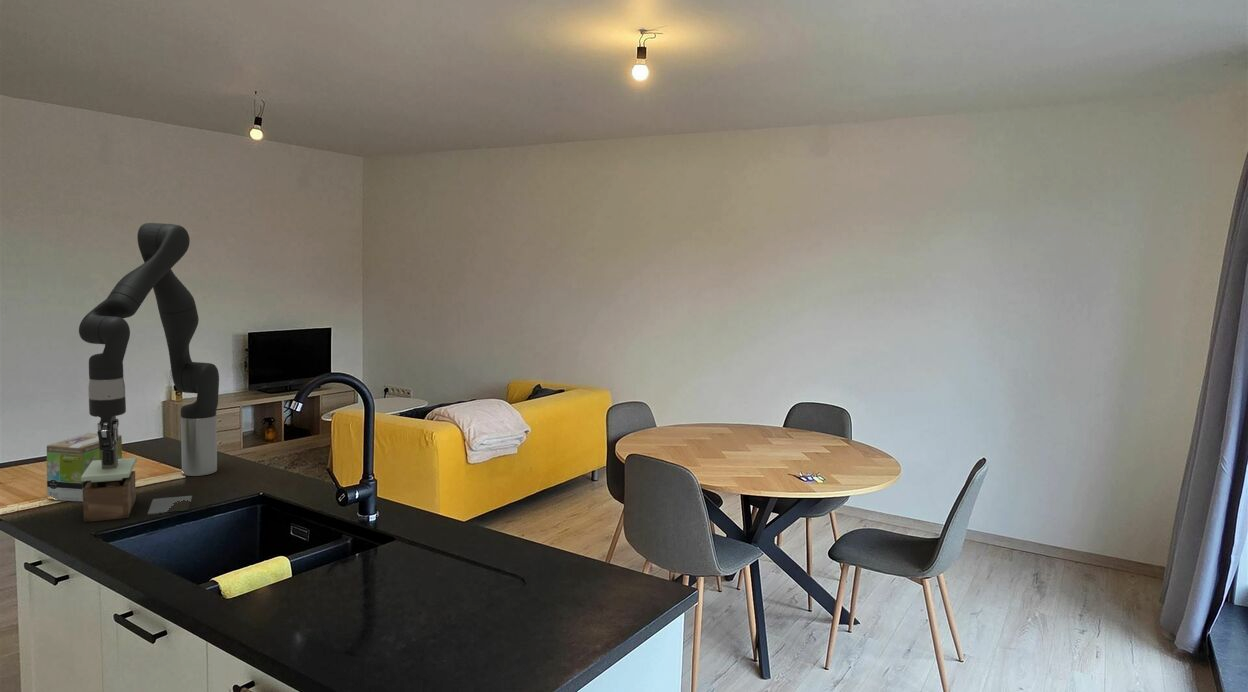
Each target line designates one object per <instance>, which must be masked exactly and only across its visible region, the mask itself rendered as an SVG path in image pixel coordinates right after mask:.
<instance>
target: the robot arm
mask: <svg viewBox="0 0 1248 692" xmlns="http://www.w3.org/2000/svg"><path fill="white" fill-rule="evenodd" d="M190 240H191V239H190V235H189V233H188V230H187V229H186V228H185V227H183V226H182V225H180V224H174V223H160V222H146V223H143V224H141V225H140V226H139V228H138V231H137V244H138V248H139V252H140V255H141V257H142V260H143V262H144V263H142V264H140V265H138V267H136V268H135V269H133V270H131V271H129V272H128V273H127V274H125V275H124V276H122V278H121V279H120V280H119V281H118V282H117V283H116V284H115V286H113V289H112V290H111V291H110V293H109V294H108V296H107V298H106V299H104V300H103V301H102V302H100V303H99V304H97V306H95V307H94V308H93V309H92V310H90V311H89V312H87V314H85V316H84V317H83V318H82V320H81V321H80V324H79V327H78V334H79V337H80V339H81V340H82V341H84V342H86V343H88V344H93V345H94V344H95V345H104V348H103V351H102V352H101V353H96V354H92V355H91V356H90V357H89V359H88V376H89V377H88V379H89V380H88V389H87V390H88V409H89V410H88V412H89V415H90V416H91V417H95V418H97V417H98V418H100V420H99V422H98V423H97V433H96V434H98V438H99V445H100V450H102V451H103V465H113V464H114V442H117V441H118V435H119V425H120V420H119V418H117V417H118V416H122V415H124V414H125V413H126V412H127V407H126V406H127V405H126V404H127V402H126V385H125V379H124V357H125V355H126V351H127V348H128V344H129V342H130V341H129V340H130V337H131V336H130V335H131V328H130V326H129V323H128V321H126V318H130V317H132V316H134V315H135V314H136V313H137V311H138V310H139V309H140V307H141V306H142V304H143V302H145V299H147V296H148V295H149V294H150V292H151V290H152V289H153V293H154V295H155V296H154V297H155V299H156V300H155V301H156V306H157V309H158V313H159V316H160V317H159V318H160V321H161V324H162V328H163V331H164V336H165V340H166V345H167V349H168V354H169V356H168V357H169V364H170V371H171V378H172V382H173V385H174V388H176V390H177V391H179V392H181V393H185V394H196V400H195V401H194V402H193V403H188V404H186V405H183V406H181V407H180V408H181V409H180V440H181V441H180V443H181V444H180V445H181V446H180V447H181V448H180V449H181V452H180V453H181V472H182V471H183V472H184V474H185V475H184V476H191V477H198V476H199V477H200V476H206V475H210V474H211V475H212V474H214V473H216V472H217V470H218V448H217V447H218V443H217V442H218V439H217V438H218V436H217V434H218V433H217V430H218V429H217V409H218V404H219V389H220V375H219V374H220V373H219V369H218V367H217V366H216V365H215V364H214V363H211V362H197V361H193V360H192V358H191V354H190V353H191V352H190V343H191V341H192V338H193V337H194V334H195V333H196V331H197V329H198V325H199V321H200V320H199V319H200V318H199V313H198V309H197V305H196V301H195V299H194V296H193V295H192V293H191V291H190V290H189V289H188V288H187V287H186V286H185V285H184V284H183V283H182V281H181V280H180V279H179V278H178V277H177V276H176V274H175V273H174V272H173V269H172V268H173V267H174V266H175V265H176V264H177V263H178V262H180V260H181V259H182V258H183V257H184V256H185V255H186V253H187V251H188V249H189V247H190ZM104 443H109V445H104Z"/></svg>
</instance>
